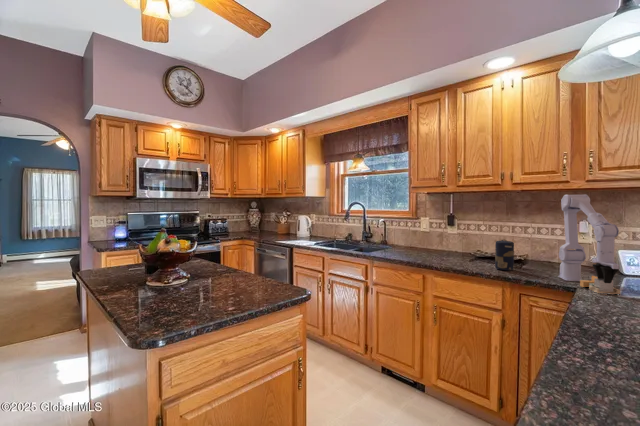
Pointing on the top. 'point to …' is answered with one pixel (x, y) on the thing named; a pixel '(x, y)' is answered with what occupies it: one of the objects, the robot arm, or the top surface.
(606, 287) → the grey block
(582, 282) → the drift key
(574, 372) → the top surface
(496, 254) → the canister
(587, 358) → the top surface
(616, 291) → the tan flat bracket
